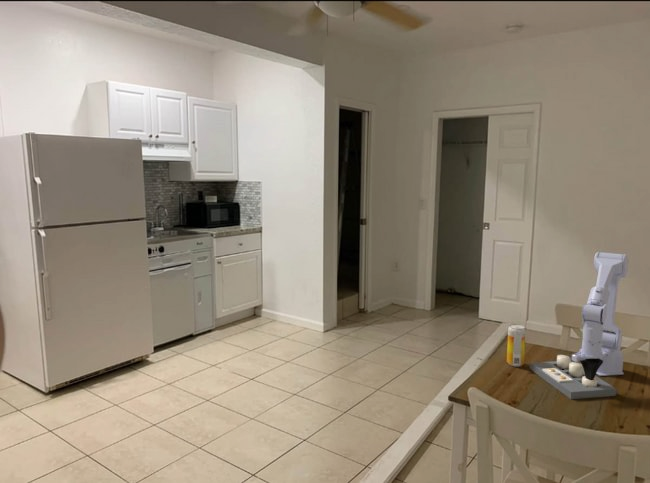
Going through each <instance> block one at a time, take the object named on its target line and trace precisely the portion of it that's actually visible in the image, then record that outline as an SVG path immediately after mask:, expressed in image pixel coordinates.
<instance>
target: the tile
mask: <svg viewBox="0 0 650 483" xmlns="http://www.w3.org/2000/svg"><path fill="white" fill-rule="evenodd" d="M542 371H544V372H545V373H546V374H548V375H549V376H551V377H552V378H554V379H555V380H556V381H558V382H559V383H560V382H573V379H571V378H570V377H568V376H567V375H565V374H564V373H562V372H561V371H559V370H558V369H556V368H547V369H542Z"/></svg>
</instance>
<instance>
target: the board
mask: <svg viewBox="0 0 650 483" xmlns="http://www.w3.org/2000/svg"><path fill="white" fill-rule="evenodd" d="M571 362H573V360H571V361H570V363H571ZM547 368H556V369H558V370H559V371H561V372H562V373H564V374H565V375H567V376H568V377H570V378H571V379H573V382H560V383H559V382H558V381H556V380H555V379H554V378H552V377H551V376H549V375H548V374H546V373H545V372H544V371H542V369H547ZM530 369H531V371H532V372H533V373H534V374H536V375H537V376H539V377H540V378H541V379H543V380H544V381H546V382H547V383H548V384H550V385H551V386H552V387H554V388H555V389H557V390H558V391H559V392H561V393H562V394H563V395H565V396H566V397H567V398H569V399H570V400H576V399H577V400H579V399H589V398H600V397H601V398H603V397H615V396H617V390H618V389H617V387H615V386H613V385H611V384H610V383H608V382H606V381H605V380H603V379H601V378H600V377H598V376H597V375H595V377H594V378H596V379H597V387H586V386H585V385H583V384H582V377H581V378H576V377H572V376H570V375H569V369H567V370H565V369H564V370H562V369H560V368H558V367H557V360H555V361H539V362H538V361H537V362H529V370H530ZM583 376H585V372H584V369H583Z"/></svg>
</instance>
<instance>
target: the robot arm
mask: <svg viewBox="0 0 650 483" xmlns="http://www.w3.org/2000/svg"><path fill="white" fill-rule="evenodd" d="M593 267H594V269H595V271H596V273H597V278H596V279H597V280H596V284H595V285H594V286H592V288H590V291H589V295H588V298H587V302H586V304H583V306H582V308H581V320H582V321H581V325H582V340H581V341H582V343H581V348H580V349H579V351H578V352H576V353H573V354H571V361H572V362H576V363H580V364H582V366H583V369H584V372H585V377H586V378H587V379H589V380H594V377H595V376H597V375H598V376H600V377H604V376H619V375H625V374H624V371H623V365H624V355H623V351H622V349H621V347H622V341H623V330H622V328H621V327H620V326H619V325H617V324H616V323H615V314H616V308H617V306H616V305H617V298H618V290H619V284H620V281H621V279H622V278H626V277H627V275H628V267H629V255H628V254H626V253H624V254H623V253H612V252H601V251H597V252H596V253H595V255H594V258H593Z"/></svg>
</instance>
